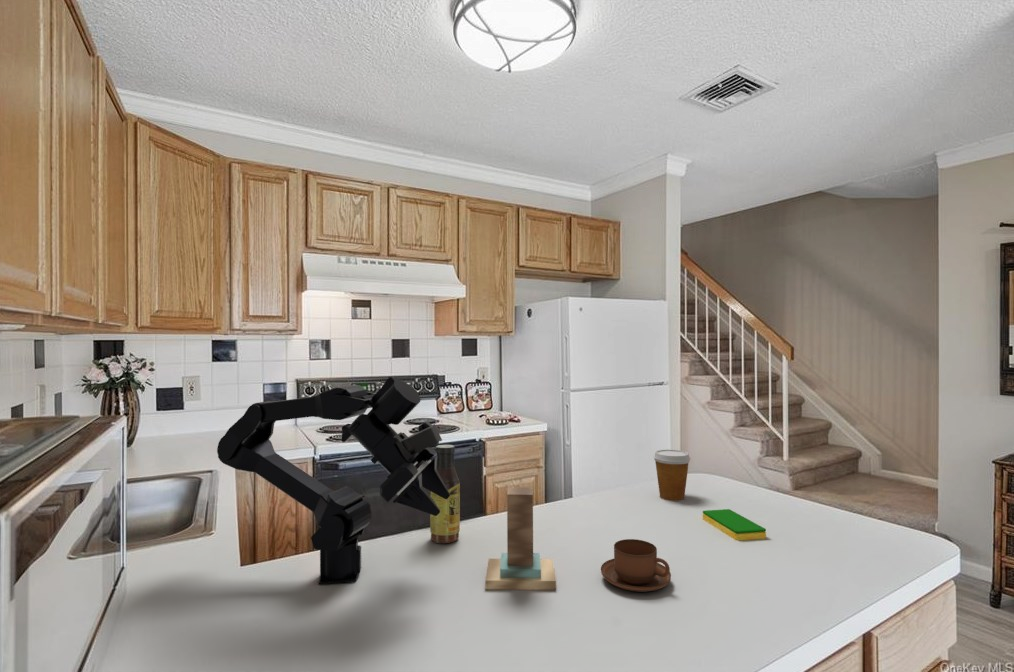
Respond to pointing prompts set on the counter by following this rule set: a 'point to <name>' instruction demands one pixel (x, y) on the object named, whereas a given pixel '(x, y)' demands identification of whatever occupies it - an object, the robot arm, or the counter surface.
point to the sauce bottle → (449, 517)
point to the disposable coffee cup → (672, 473)
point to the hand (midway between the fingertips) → (443, 505)
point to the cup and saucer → (636, 567)
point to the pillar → (520, 526)
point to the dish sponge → (734, 524)
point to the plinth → (520, 582)
